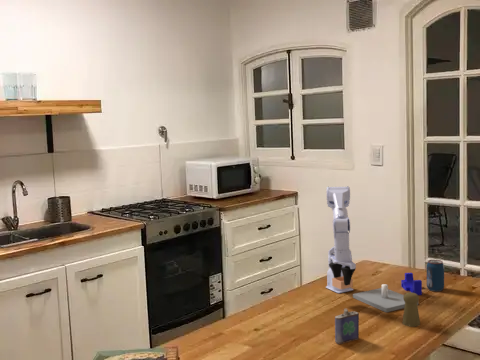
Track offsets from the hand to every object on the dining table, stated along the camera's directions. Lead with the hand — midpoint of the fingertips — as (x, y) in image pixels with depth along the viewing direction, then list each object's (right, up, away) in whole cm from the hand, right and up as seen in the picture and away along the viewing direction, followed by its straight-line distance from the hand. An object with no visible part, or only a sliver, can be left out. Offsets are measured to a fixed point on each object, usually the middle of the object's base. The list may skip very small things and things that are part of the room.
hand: (342, 282), depth 218 cm
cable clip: (+31, -6, +14) cm, 35 cm away
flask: (-5, -13, -34) cm, 36 cm away
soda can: (+42, -6, +14) cm, 44 cm away
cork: (+20, -11, -21) cm, 31 cm away
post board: (+17, -8, +3) cm, 19 cm away
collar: (0, -1, 0) cm, 2 cm away
